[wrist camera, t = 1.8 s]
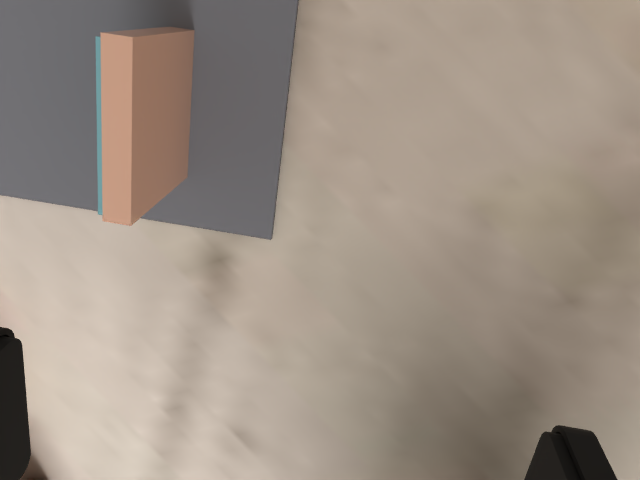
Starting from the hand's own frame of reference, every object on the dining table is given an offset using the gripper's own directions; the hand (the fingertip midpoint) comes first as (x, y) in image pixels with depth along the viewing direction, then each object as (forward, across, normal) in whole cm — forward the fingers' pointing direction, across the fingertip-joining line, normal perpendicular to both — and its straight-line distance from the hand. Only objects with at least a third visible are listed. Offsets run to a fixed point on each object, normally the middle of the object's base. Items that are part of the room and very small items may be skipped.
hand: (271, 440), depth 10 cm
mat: (+23, +14, 0) cm, 27 cm away
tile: (+23, +9, -1) cm, 25 cm away
